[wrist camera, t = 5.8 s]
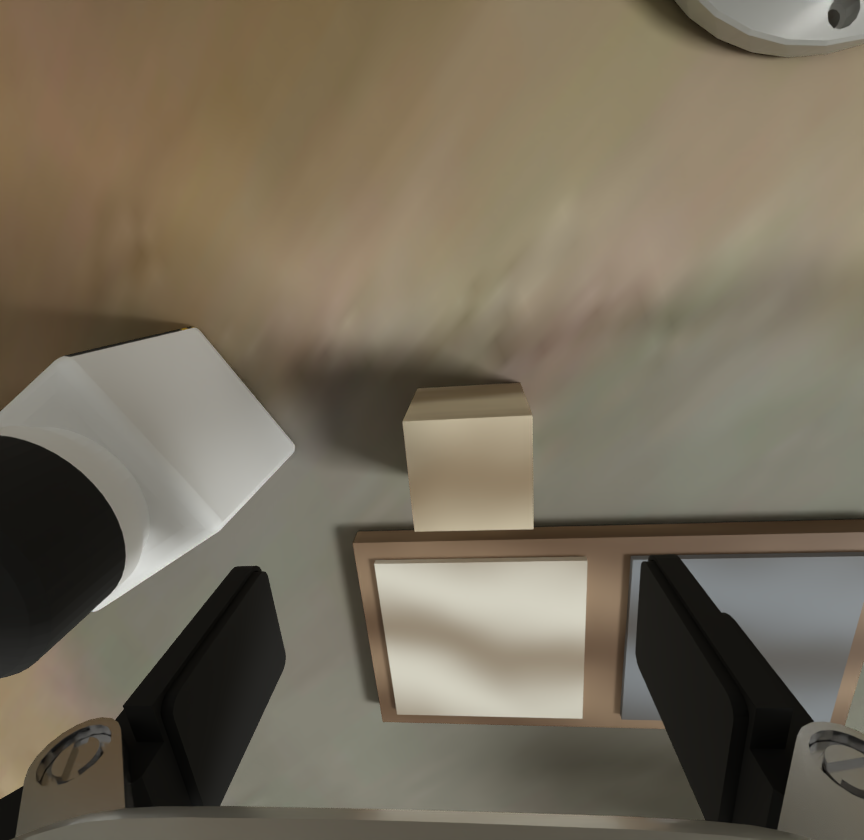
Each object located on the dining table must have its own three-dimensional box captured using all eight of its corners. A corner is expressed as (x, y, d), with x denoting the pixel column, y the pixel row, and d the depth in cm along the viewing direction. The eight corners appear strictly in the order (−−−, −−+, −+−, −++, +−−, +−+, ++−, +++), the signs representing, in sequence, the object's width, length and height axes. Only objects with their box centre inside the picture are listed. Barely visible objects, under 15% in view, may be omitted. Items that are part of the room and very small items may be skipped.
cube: (417, 387, 20) (402, 421, 16) (519, 382, 20) (532, 415, 15) (426, 478, 21) (414, 531, 17) (521, 475, 21) (533, 529, 17)
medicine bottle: (197, 322, 20) (-169, 403, 9) (300, 447, 21) (107, 653, 10) (97, 407, 22) (-311, 565, 10) (199, 516, 23) (-59, 755, 12)
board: (357, 531, 23) (351, 546, 21) (882, 518, 20) (908, 535, 19) (386, 705, 27) (381, 727, 25) (827, 714, 24) (846, 739, 23)
